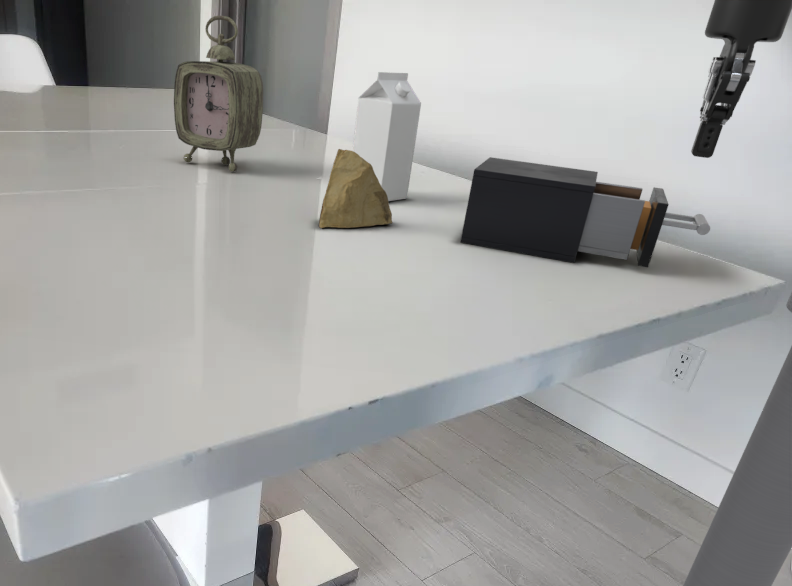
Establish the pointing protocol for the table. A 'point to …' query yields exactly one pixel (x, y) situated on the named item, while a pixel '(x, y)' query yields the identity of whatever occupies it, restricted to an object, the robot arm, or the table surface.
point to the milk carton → (388, 131)
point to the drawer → (629, 222)
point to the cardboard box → (641, 226)
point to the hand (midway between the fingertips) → (700, 156)
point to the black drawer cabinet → (528, 208)
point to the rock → (354, 195)
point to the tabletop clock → (218, 101)
